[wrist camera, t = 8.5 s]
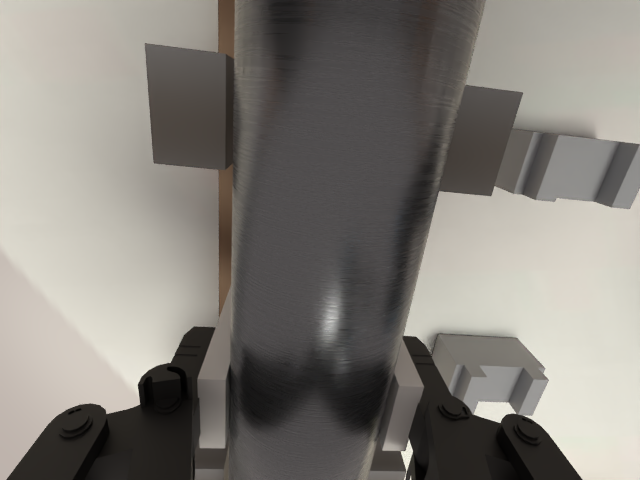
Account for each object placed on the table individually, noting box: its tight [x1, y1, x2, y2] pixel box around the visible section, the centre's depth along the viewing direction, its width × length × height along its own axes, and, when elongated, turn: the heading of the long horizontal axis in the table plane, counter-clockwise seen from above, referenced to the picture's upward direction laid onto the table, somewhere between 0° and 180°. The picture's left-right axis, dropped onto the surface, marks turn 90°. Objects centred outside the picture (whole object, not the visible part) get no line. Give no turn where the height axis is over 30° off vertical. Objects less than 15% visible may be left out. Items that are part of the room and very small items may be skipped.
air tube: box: [229, 0, 486, 480], centre depth 11 cm, size 24×5×5 cm, turn 174°
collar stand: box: [145, 0, 523, 480], centre depth 17 cm, size 26×10×9 cm, turn 174°
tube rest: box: [432, 129, 640, 416], centre depth 20 cm, size 17×6×4 cm, turn 174°
